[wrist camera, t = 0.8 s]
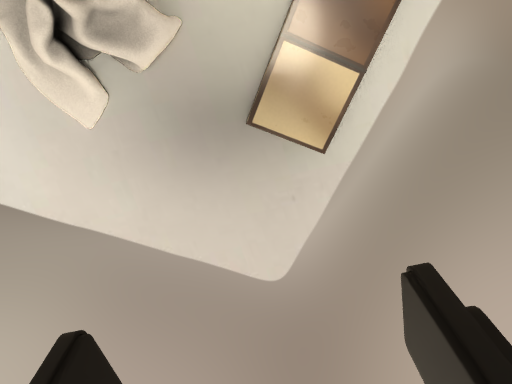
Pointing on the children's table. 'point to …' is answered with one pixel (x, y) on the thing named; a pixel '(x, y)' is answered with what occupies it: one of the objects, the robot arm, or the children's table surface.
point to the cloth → (82, 45)
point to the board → (318, 67)
